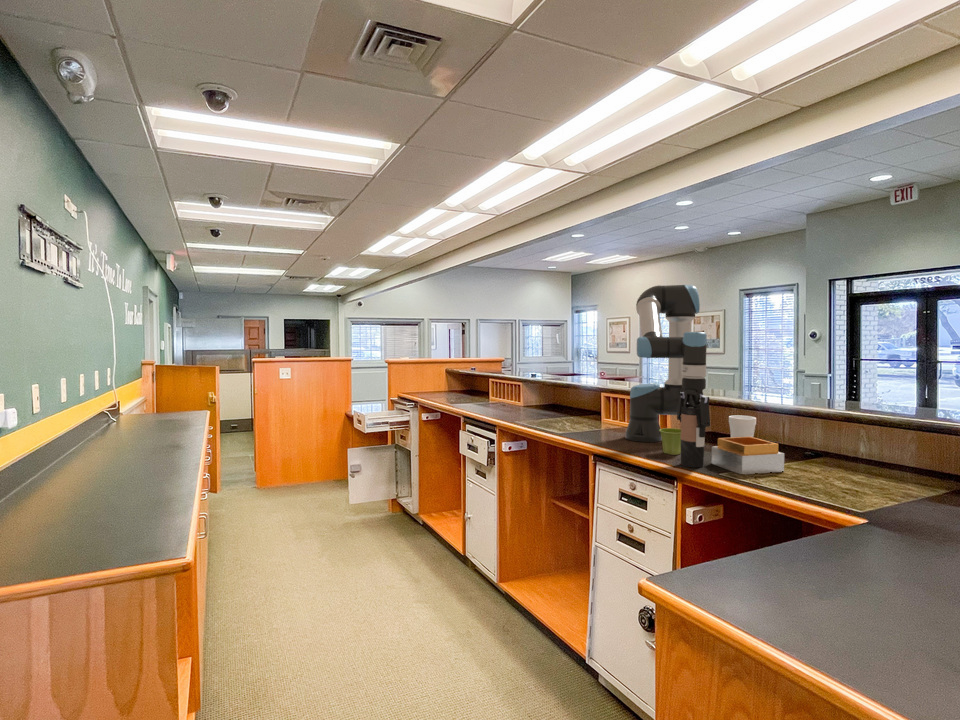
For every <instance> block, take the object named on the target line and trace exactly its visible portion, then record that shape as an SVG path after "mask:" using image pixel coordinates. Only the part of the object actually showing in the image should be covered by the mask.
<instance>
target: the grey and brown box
mask: <svg viewBox="0 0 960 720" xmlns="http://www.w3.org/2000/svg"><path fill="white" fill-rule="evenodd" d="M710 463H711V464H712V465H714V466H716V467H717V466H718V467H720V468H722V469H725V470H728V471H729V472H730V471H731V472H734V473H736V474H738V475H741V474H745V475H754V474H755V473H758V474H771V473H770V472H772V473H782V471H784V472H785V453H784V452H780V451H779V443H776V442H772V441H768V440H765V439H760V438H757V437H754V436H753V437H750V436H749V437H731V436H730V437H718V438H717V445H715V446H713V445H712V446H711V462H710Z"/></svg>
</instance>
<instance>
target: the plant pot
mask: <svg viewBox="0 0 960 720" xmlns="http://www.w3.org/2000/svg"><path fill="white" fill-rule="evenodd" d="M659 431H660V433H661V436H662V440H661V443H662V451H663V452H662V453H664V454H666V455H672V456H677V455H681V428H672V427H671V428H670V427H669V428H668V427H665V428H664V427H663V428H661V429H660V430H659Z"/></svg>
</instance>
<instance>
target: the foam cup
mask: <svg viewBox="0 0 960 720" xmlns="http://www.w3.org/2000/svg"><path fill="white" fill-rule="evenodd" d="M728 424H729V433H730V438H731V437H749V436H750V437H754V436H755V430H756V425H757V417H755V416H751V415H742V414H741V415H729V416H728Z"/></svg>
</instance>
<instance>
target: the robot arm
mask: <svg viewBox="0 0 960 720" xmlns="http://www.w3.org/2000/svg"><path fill="white" fill-rule="evenodd" d="M635 305H636V307H635V308H636V313H637V314H638V316H639V324H640V325H639V326H640V336H639V337H637V338H636V355H637V357H638V358H642V359H644V358H645V359H661V358H662V359H668V369H667V371H668V374H667V375H668V377H667V379H666V381H664V383H663V384H664V385H663V386H661V387H660V384H659V383H657V382H656V383H643V384H637V385H633V386H632V387H631V388H630V392H629V394H630V395H629V399H630V400H629V401H630V402H629V422H628V424H627V427H626V430H625V434H624V435H625V436H624V437H625V439H626V440H629V441H632V442H642V443H655V442H656V443H657V442H662V436H661V433H660V431H659V430H660V429H662V428H661V426H660V423H659V415H660V416H676V420H678V421H679V422H680V423H681V411H682V407H686V408H689V407H693V408H700V410H701V411H699V410H697V415H696V416H697V417H696V419H697V423H698V426H696V447H704V448H705V443H704V441H706V440H705V439H706V438H705V437H706V428H708V427H711V416H710V404H709V403H710V396H705V395H704V390H705V389H706V386H707V385H706V384H707V379H706V378H705V377H707V350H708V349H707V348H708V347H707V346H708V345H707V344H708V339H707V338H708V336H707V333H706V332H705V331H692V322H693V320H694V319H695V318H696V314H699V313H700V310H701V309H700V296H699V291H698V289H697V287H696V286H695V285H690V284H677V285H675V284H674V285H673V284H672V285H671V284H670V285H668V284H667V285H654V286H652V287H649V288H647V289H646V290H645V291H643V292H642V293H641V294H640V295H639V297H638V298H637V301H636V303H635ZM660 314H665V319H666V320H667V321H668V336H663V330H662V325H661V323H662V322H661V317H660Z"/></svg>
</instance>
